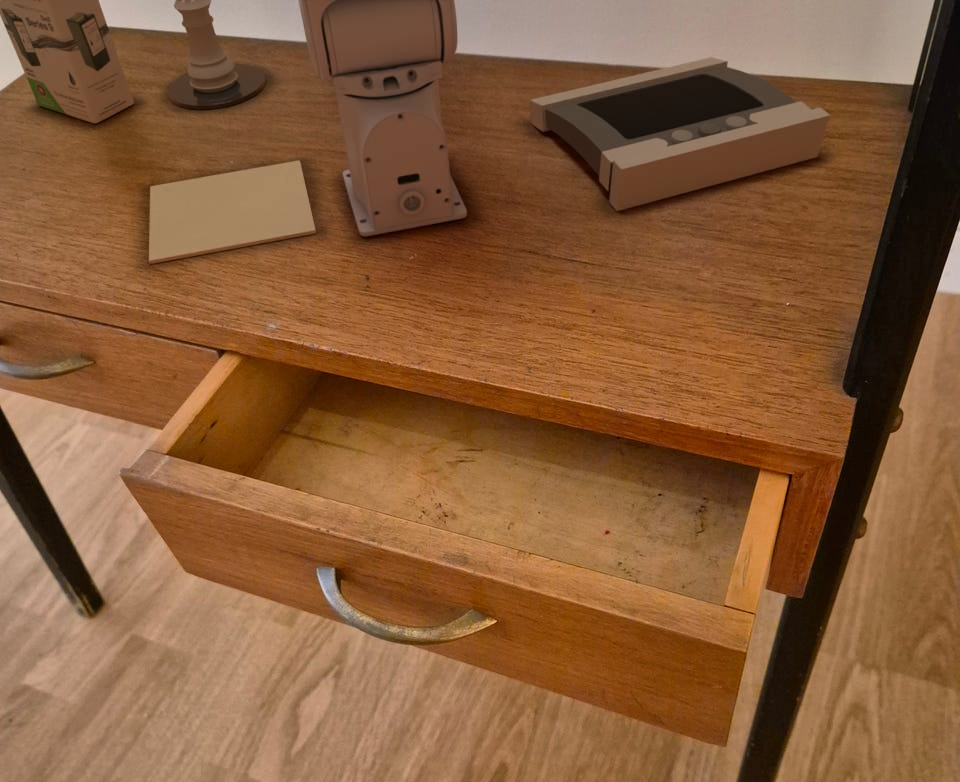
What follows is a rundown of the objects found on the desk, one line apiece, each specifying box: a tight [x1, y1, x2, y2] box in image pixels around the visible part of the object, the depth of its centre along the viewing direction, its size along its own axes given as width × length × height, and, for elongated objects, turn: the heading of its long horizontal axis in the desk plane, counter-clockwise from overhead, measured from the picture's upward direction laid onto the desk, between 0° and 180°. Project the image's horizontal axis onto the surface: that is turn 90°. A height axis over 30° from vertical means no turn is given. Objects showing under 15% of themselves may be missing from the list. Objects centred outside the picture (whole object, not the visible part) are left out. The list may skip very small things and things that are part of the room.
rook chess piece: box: [173, 0, 238, 93], centre depth 79 cm, size 4×4×8 cm
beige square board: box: [148, 160, 317, 265], centre depth 67 cm, size 11×12×1 cm
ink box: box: [0, 0, 135, 124], centre depth 77 cm, size 9×5×12 cm, turn 56°
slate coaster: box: [167, 63, 266, 111], centre depth 82 cm, size 9×9×1 cm
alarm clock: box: [529, 56, 831, 212], centre depth 69 cm, size 17×5×16 cm
